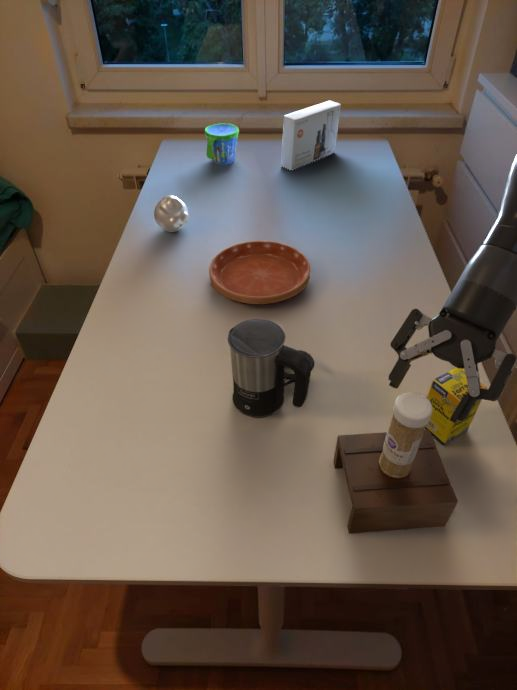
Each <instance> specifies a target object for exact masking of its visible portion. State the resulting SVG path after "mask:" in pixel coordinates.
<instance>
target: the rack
mask: <svg viewBox="0 0 517 690" xmlns="http://www.w3.org/2000/svg"><path fill="white" fill-rule="evenodd" d="M387 432H388V431H387ZM387 432H386V431H385V432H370V433H369V432H368V433H351V434H340V435H339V434H338V435H337V439H336V444H335V451H334V455H333V456H334V457H333V466H334V469H343V473H344V477H345V481H346V485H347V490H348V494H349V499H350V503H351V508H350V512H349V516H348V521H347V525H346V527H347V532H348V534H349V535H350V534H362V533H364V534H365V533H377V532H378V533H379V532H390V531H404V530H405V531H406V530H416V529H417V530H419V529H431V528H432V529H433V528H445V527H447V525H448V522H449V521H450V518H451V517H452V515H453V512H454V511H455V508H456V507H457V505H458V503H459V500H458V498H457V495H456V492H455V490H454V488H453V486H452V482H451V481H450V478H449V474H448V472H447V470H446V467H445V465H444V462H443V460H442V457H441V455H440V452H439V450H438V447H437V445H436V442H435V439H434V437H433V436H432V435H431V432H430V430H424V432H423V436H422V439H421V442H420V445H419V447H418V450H417V453H416V456H415V458H414V460H413V463H412V465H411V471H410V473H409V474H408V475H407V476H405V477H402V478H392V477H390V476H388V475H386V474H385V473H384V472H383V471H382V470H381V468H380V465H379V458H380V456H381V454H382V451H383V445H384V442H385V438H386V435H387Z"/></svg>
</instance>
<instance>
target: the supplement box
mask: <svg viewBox="0 0 517 690" xmlns="http://www.w3.org/2000/svg"><path fill="white" fill-rule="evenodd" d="M480 385H481V388H482V389H488V387H487V386H486V385H485V384H483V383H482V382H481V381H480ZM468 392H469V390H468V383H467V378H466V374H465V369H459V368H457V367H455V366H454V367H453V368H452V369H450V370H449V371H446V372H445V373H442V374H441V375H439V376H437V377H435V378H434V379H432V382H431V384H430V388H429V390H428V393H427V396H426V398H427V399H428V400H429V401H430V402H431V404H432V409H433V410H432V414H431V417H430V420H429V422H428V424H426V427H425V430H430V432H431V435H432V437H433V439H434V440H436V441H437V442H439V444H441V446H442V447H443V446H444V447H445V446H446V445H448V444H450V443H451V441H453V440H455V439H457V438H458V437H459V436H461V435H463V434H464V433H466V432H467V431H469V428H470V426H471V424H472V422H473V419H474V418H475V415H476V413H477V411H478V409H479V406H480V404H481V403H482V400H483V399H481V400H478V401H477V402H476V404H475V405H474V407H473V409H472V410H471V412H470V414H469V415H468V417H467V419H466V420H464V421H460V420H459V421H458V422H457V423H454V422H452V421H450V418H451V416H452V414H453V413H454V411H455V409H456V408H457V406H458V404H459V403H460V401H461V399H462V398H463V396H464V394H466V395H467V393H468Z"/></svg>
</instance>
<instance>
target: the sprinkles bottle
mask: <svg viewBox="0 0 517 690" xmlns="http://www.w3.org/2000/svg"><path fill="white" fill-rule="evenodd" d="M432 410H433V409H432V404H431V402H430V401H429V400H428V399H427V396H425V395H423V394H422V393H418V392H415V391H405V392H402V393H400V394H398V396H397V397H396V399H395V401H394V404H393V408H392V417H391V419H390V423H389V426H388V431H387V435H386V438H385V442H384V445H383V451H382V454H381V456H380V458H379V465H380V468H381V470H382V471H383V472H384V473H385V474H386V475H388V476H390V477H392V478H402V477H405V476H407V475H408V474H409V473H410V471H411V465H412V463H413V460H414V458H415V456H416V453H417V450H418V447H419V445H420V442H421V439H422V436H423V432H424V430H425V427H426V424H428V422H429V420H430V417H431V414H432Z"/></svg>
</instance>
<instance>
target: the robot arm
mask: <svg viewBox="0 0 517 690" xmlns="http://www.w3.org/2000/svg"><path fill="white" fill-rule="evenodd" d="M500 199H501V200H500V203H499V207H498V211H497V216H496V218H495V220H494V222H493V223H492V225H491V226H490V228H489V230H488V232H487V233H486V235H485V237H484V239H483V241H482V242H481V244H480V245H479V247H478V248H477V250H476V252H475V253H474V254H473V255H472V257H471V258H470V259H469V261H468V262H467V264H466V266H465V267H464V269H463V271H462V273H461V274H460V276H459V278H458V280H457V282H456V283H455V285H454V287H453V288H452V290H451V292H450V294H449V295H448V297H447V299H446V300H445V302H444V304H443V305H442V308H441V309H440V311H439V313H438V314H437V315H436V316H435V317H433V318H432V317H429V316H428V315H426V314H424V313H423V312H421V310H419V308H413V309H412V310H410V312H409V313H408V315H407V317H406V319H404V321H403V323H402V325H401V326H400V328H399V329H398V331H397V332H396V334H395V335H394V336H393V339H392V340H391V342H390V347H391V349H393V350H394V352H395V353H396V354H397V355H398V358H397V360H396V362H395V364H394V366H393V368H392V369H391V371H390V372H389V374H388V380H387V381H390V382H389V384H388V385H389V386H390V387H391V388H393V389H398V388H399V387H400V386H401V384H402V382H403V380H404V378H405V376H406V375H407V373H408V371H409V370H410V368H411V367H412V364H411V362H413V361H416V360H418V359H420V358H423V357H426V356H429V355H431V354H432V355H433V356H434V357H435V358H437V359H440V360H441V361H444V362H448V363H449V364H450V365H452V366H453V367H454V368H455V367H457V368H459V369H464V370H465V374H466V378H467V383H468V390H469V392H468V393H467V395H466V394H464V396H463V398H462V399H461V401H460V403H459V404H458V406H457V408H456V409H455V411H454V413H453V414H452V416H451V418H450V421H452V422H454V423H457V422H458V421H459V420H460V421H464V420H466V419H467V417H468V415H469V414H470V412H471V410H472V409H473V407H474V405H475V404H476V402H477V401H478V400H481V399H482V400H485V401H489V402H490V401H491V402H496V401H498V400H499V399H500V397H501V394H502V393H503V390H504V389H505V386H506V385H507V382H508V380H509V379H510V377H511V375H512V373H513V371H514V369H515V367H516V366H517V356H516V355H515V354H513V353H507V352H505V351H501V350H499V349H496V346H497V345H496V344H497V342H498V340H499V338H500V336H501V335H502V333H503V331H504V329H505V327H506V326H507V325H508V323H509V321H510V319H511V318H512V316H513V314H514V313H515V311H516V310H517V153H516V154H515V155H514V158H513V160H512V162H511V165H510V168H509V171H508V175H507V178H506V181H505V185H504V189H503V193H502V196H501V198H500ZM424 327H427V331H428V338H426V339H424V340H421V341H419V342H417V343H415V345H413V346H410V347H408V348H407V347H406V346H407V345H408V343H409V342H410V341H411V339H412V337H413V336H414V334H415V332H416V331H417V330H418V331H419V330H423V328H424ZM491 358H494V367H495V368H496V369H497V370H496V373H495V375H494V377H493V379H492V381H491V383H490V385H489V386H488V388H487V389H482V388H481V385H480V382H481V378H480V377H481V376H480V371H479V364H480V363H482V362H484V361H487V360H489V359H491ZM482 400H481V401H482Z"/></svg>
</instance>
